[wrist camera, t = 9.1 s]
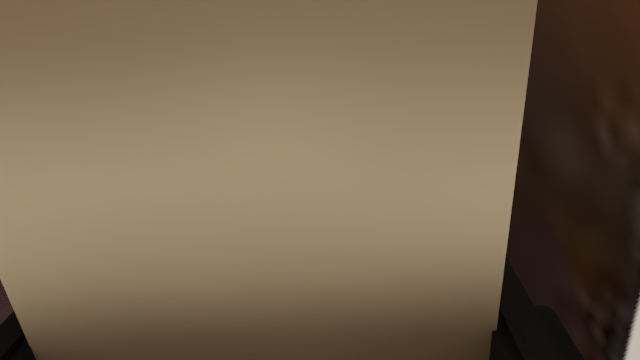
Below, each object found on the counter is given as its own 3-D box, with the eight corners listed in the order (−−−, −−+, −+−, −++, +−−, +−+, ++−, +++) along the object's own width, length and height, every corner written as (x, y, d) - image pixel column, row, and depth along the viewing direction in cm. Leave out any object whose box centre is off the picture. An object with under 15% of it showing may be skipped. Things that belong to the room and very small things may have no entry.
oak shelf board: (9, -191, 7) (-260, -321, 4) (469, -235, 7) (588, -422, 3) (205, 513, 15) (168, 665, 11) (428, 513, 14) (454, 671, 11)
